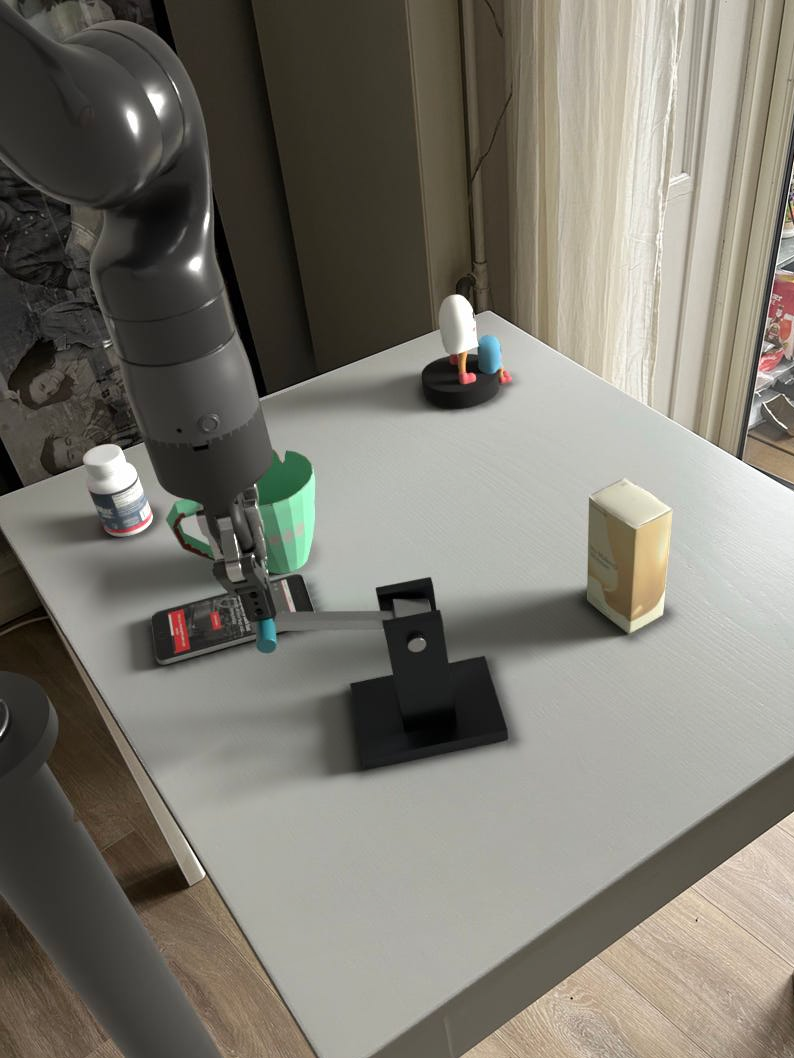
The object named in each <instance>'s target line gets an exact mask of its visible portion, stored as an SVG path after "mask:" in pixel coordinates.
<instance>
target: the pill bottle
mask: <svg viewBox="0 0 794 1058" xmlns="http://www.w3.org/2000/svg"><path fill="white" fill-rule="evenodd" d="M82 462H83V465H84V468H85V471H86V472H87V475H86V477H85V485H86V488H87V490H88V493H89V495H90V498H91V500H92V502H93V504H94V508H95V509H96V512H97V514H98V516H99V519H100V521H101V523H102V526H103V529H104V530H105V531H106V533H107V534H108V535H111V536H114V537H123V538H124V537H130V536H133V535H136V534H139V533H141V532H143V531H144V530H146V529H147V528H148V527H149V526H150V525H151V523H152V521H153V518H154V517H153V516H154V515H153V512H152V509H151V507H150V504H149V501H148V499H147V496H146V493H145V491H144V489H143V485H142V483H141V479H140V478H139V475H138V472H137V470H136V468H135V467H134V466H133V465H132V464H131V463H129V462H127V461H126V456H125V454H124V452H123V450H122V448H121V447H120V446H119V445H118V444H117V445H116V444H112V443H105V444H101V445H97V446H95V447H93V448H90V449H89V450H88V451H86V452H85V453H84V454H83V457H82Z"/></svg>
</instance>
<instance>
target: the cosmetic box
mask: <svg viewBox="0 0 794 1058" xmlns="http://www.w3.org/2000/svg"><path fill="white" fill-rule="evenodd" d="M672 520H673V508H672V507H671V506H669V505H667V504H666V503H664V502H663V501H661V500H660V499H658V498H657V497H656V496H654V495H653V494H651V493H650V492H649V491H647V490H645V489H643V488H642V487H640V486H639V485H637V484H636V483H635V482H633V481H631V480H630V479H629V478H627V477H622V478H620V479H619V480H616V481H615V482H611V483H610V484H609V485H607V486H604V487H602V488H600V489H598V490H596V491H595V492H593V493H591V494H589V495H588V522H587V523H588V524H587V525H588V527H587V529H588V530H587V573H586V574H587V575H586V578H587V579H586V601H588V602H589V603H590V604H591V605H592V606H593V607H595V608H596V609H597V610H598V611H599V612H600V613H602V614H603V615H604V616H605V617H606V618H608V620H610V621H611V622H613V623H614V624H615V625H617V626H618V627H619V628H620V629H622V630H623V631H624V632H626V634H632V633H634V632H635V631H637V630H639V629H642V628H643V627H645V626H646V625H648V624H650V623H652V622H653V621H655V620H657V619H658V618H660V617H662V616H663V615H664V606H665V594H666V585H667V574H668V566H669V565H668V563H669V554H670V553H669V552H670V542H671V541H670V540H671V532H672V522H673V521H672Z"/></svg>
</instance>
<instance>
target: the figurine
mask: <svg viewBox="0 0 794 1058" xmlns="http://www.w3.org/2000/svg"><path fill="white" fill-rule="evenodd" d="M476 326H477V324H476V315H475V312H474V310H473V307H472V305H471V304H470V301H468V299H466V298H465V297H464V296H463V295H461V294H450V295H449V296H447V297H445V298H444V299H443V301H442V302H441V305H440V307H439V313H438V327H439V333H440V337H441V342H442V346H443V348H444V351H445V353H446V354H448V355H447V356H443V357H440V358H438V359H435V360H433V361H431V362H430V363H428V364H427V365H425V366H424V367H423V368H422V371H421V374H420V379H421V385H422V392H423V397H424V398H425V400H426V401H427V402H429V403H430V404H431V405H433V406H435V407H439V408H442V409H449V410H452V409H454V410H457V409H458V410H459V409H466V408H472V407H476V406H479V405H481V404H485V403H487V402H488V401H491V400H493V398H495V397H496V396H497V395H498V393H499V390H500V385H504V384H506V383H510V382H512V381H513V378H512V376H511V375H510V373H509V371H507V370H504V368H505V367H504V364H503V363H502V362H503V361H502V346H501V344H500V342H499V340H498V338H497V337H496V336H494V335H491V334H486V335H483V336H481V337H480V338H479V340H478V339H477V327H476ZM474 348H476V351H477V354H475V353H468V351H469V350H471V349H474Z"/></svg>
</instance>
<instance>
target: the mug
mask: <svg viewBox="0 0 794 1058" xmlns="http://www.w3.org/2000/svg"><path fill="white" fill-rule="evenodd" d="M272 449H273V461H272V464H271V467H270V469H269V470H268V472H267V473H266V474H265V476H264V477H263V478H262V479H261V480H259V481H258V482H257V483H256V485H257V489H258V494H259V503H258V506H259V510H260V513H261V517H262V520H263V524H264V533H265V538H264V540H265V545H266V555H267V561H266V564H267V566H265V567H266V569H268V573H271V574H274V575H275V574H277V575H283V574H289V573H292V572H295V571H297V570H299V569H300V568H301V567H303V566H304V565H305V564H306V563H307V562H308V559H309V557H310V551H311V547H312V543H313V542H312V541H313V538H314V529H315V520H316V514H315V513H316V512H315V498H316V496H315V495H316V478H315V477H316V476H315V471H314V470H315V469H314V466H313V463H312V462H311V461H310V460H309V459H308V456H306V455H304V454H301V453H299V452H297V451H295V450H287V449H286V450H285V454H284V460H283V461H282V460H281V458H280V456H279V454H278V452H277V451H276V450H275V449H274V448H272ZM196 509H200V506H199V503H197V502H195V501H191V500H188V499H180V500H177V501H175V502H174V503H173V505H172V507H171V509H170V511H169V512H168V515H167V516H166V518H165V522H166V523H167V525H168V526H169V529H170V530H171V531H172V533H173V535H174V537H175V539H176V540H177V542H178V544H179V545H180V547H181V548H182V549H183V550H185V551H187V552H189V553H192V554H194V555H197V556H199V557H201V558H204V559H206V560H208V561H210V562H213V563H214V562H216V561H215V558H214V555H213V552H212V549H211V547H210V544H209V543H206V542H204V541H201V540H199V539H198V538H195V537H193V536H191V535H189V534H187V533H185V532H184V529H183V527H182V523H181V522H182V520H183V519H187V518H189V517H192V516H196Z"/></svg>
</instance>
